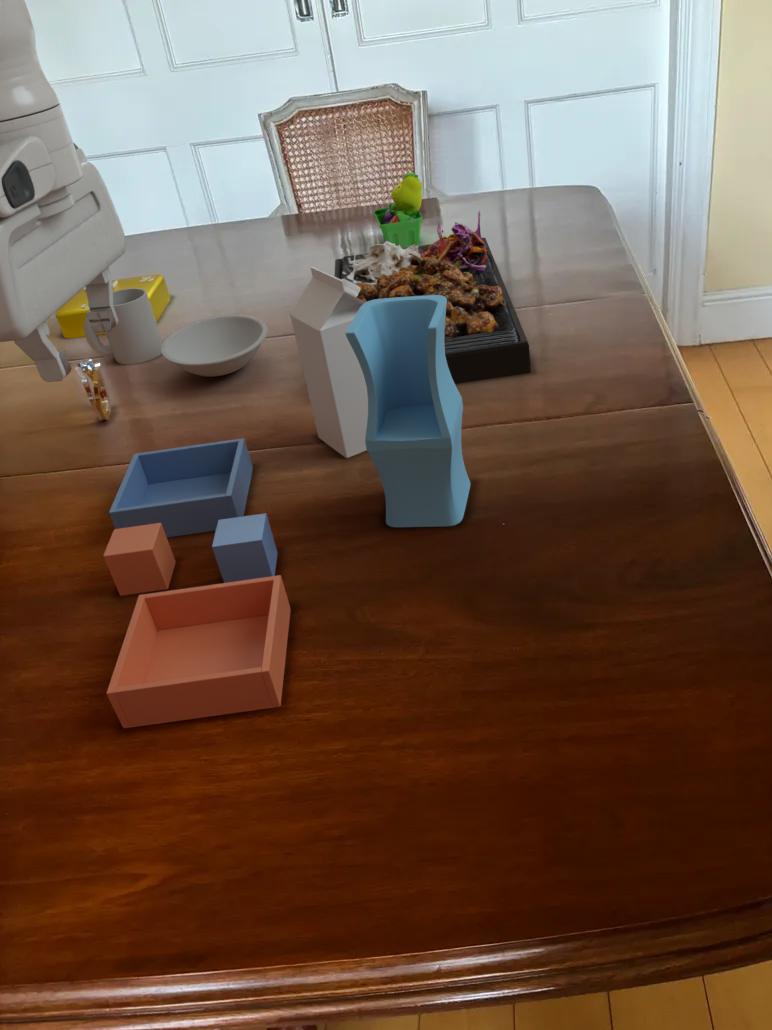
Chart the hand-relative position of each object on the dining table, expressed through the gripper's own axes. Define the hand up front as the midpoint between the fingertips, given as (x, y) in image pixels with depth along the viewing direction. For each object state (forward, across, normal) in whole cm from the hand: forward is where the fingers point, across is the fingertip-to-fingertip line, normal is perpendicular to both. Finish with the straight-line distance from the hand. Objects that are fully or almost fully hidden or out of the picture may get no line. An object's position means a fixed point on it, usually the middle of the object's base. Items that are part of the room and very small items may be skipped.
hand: (83, 352), depth 71 cm
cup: (+23, -56, -26) cm, 66 cm away
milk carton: (+23, -26, +14) cm, 37 cm away
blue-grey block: (+23, -1, +8) cm, 24 cm away
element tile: (+23, -74, -35) cm, 85 cm away
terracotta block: (+23, 0, -2) cm, 23 cm away
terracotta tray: (+23, +12, +8) cm, 27 cm away
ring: (+23, -36, -21) cm, 48 cm away
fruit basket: (+23, -101, +10) cm, 104 cm away
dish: (+23, -49, -9) cm, 55 cm away
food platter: (+23, -60, +17) cm, 67 cm away
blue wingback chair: (+23, -10, +23) cm, 34 cm away
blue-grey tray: (+23, -13, -2) cm, 26 cm away
